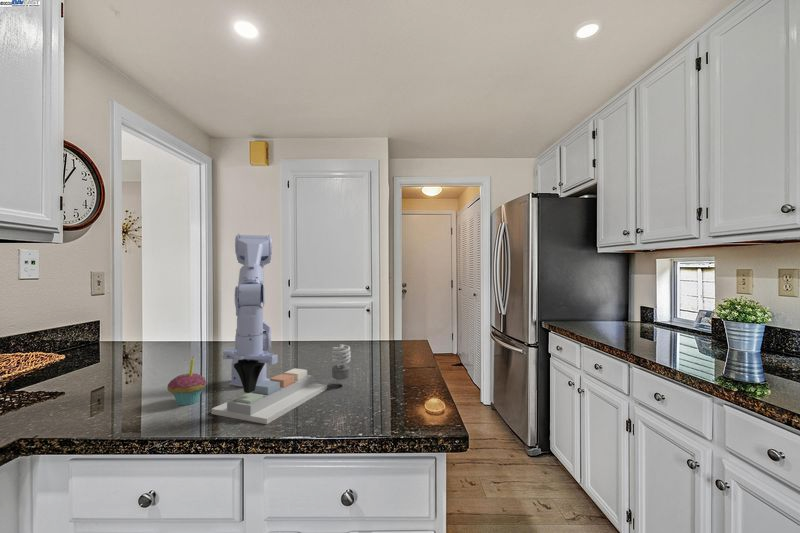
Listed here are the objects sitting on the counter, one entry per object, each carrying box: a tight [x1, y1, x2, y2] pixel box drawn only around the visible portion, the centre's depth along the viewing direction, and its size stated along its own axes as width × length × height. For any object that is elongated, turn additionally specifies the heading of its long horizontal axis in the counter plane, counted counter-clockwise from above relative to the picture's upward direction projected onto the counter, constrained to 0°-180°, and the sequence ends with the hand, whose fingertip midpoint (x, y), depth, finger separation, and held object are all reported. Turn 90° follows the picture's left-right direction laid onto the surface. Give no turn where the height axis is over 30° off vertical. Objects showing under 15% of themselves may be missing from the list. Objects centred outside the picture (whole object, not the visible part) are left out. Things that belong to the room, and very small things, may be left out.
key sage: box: [234, 393, 264, 404], centre depth 87 cm, size 4×4×2 cm
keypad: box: [211, 374, 328, 425], centre depth 95 cm, size 16×25×3 cm, turn 160°
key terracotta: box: [269, 373, 294, 388], centre depth 98 cm, size 4×4×2 cm
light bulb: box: [331, 343, 352, 386], centre depth 108 cm, size 6×6×12 cm
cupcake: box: [166, 355, 207, 406], centre depth 93 cm, size 9×8×12 cm
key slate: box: [254, 380, 280, 395], centre depth 92 cm, size 4×4×2 cm
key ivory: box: [284, 368, 308, 381], centre depth 103 cm, size 4×4×2 cm
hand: (249, 391), depth 87 cm, fingers closed
